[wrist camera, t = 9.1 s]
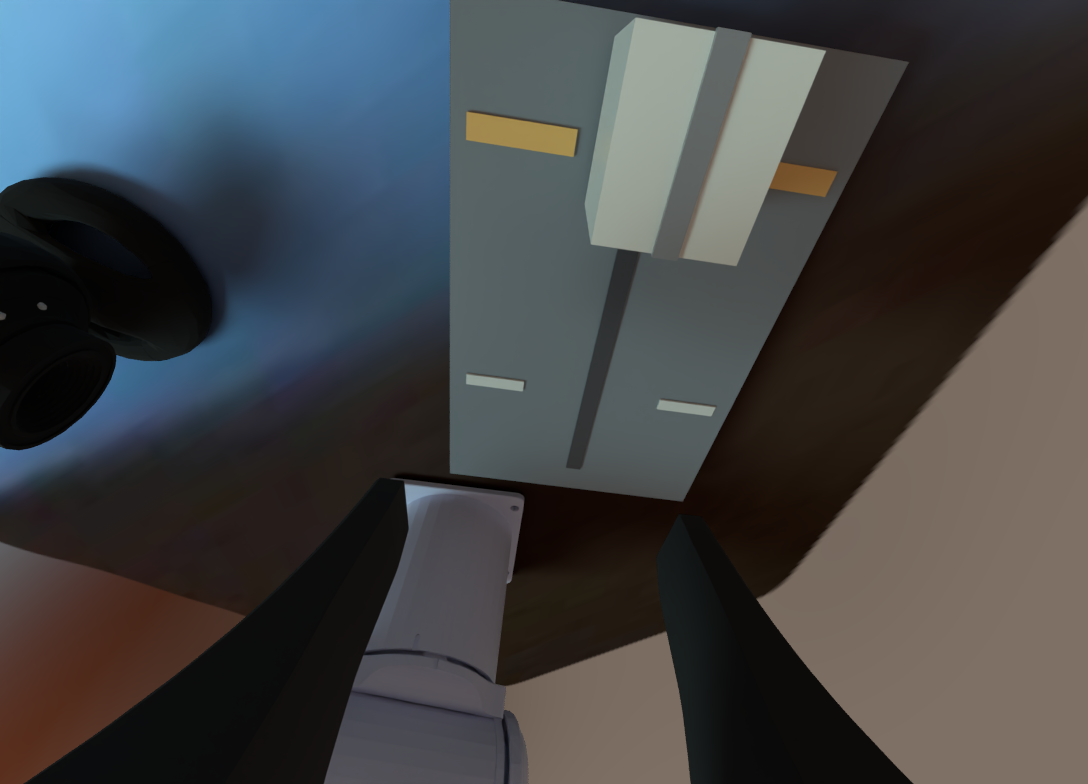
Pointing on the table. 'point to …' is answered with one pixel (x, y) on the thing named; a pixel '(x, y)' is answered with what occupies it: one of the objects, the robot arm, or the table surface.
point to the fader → (691, 138)
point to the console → (607, 261)
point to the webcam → (83, 305)
